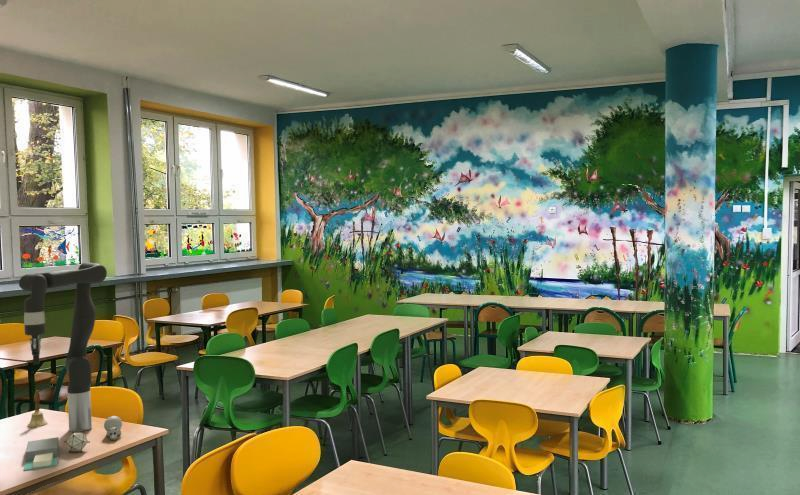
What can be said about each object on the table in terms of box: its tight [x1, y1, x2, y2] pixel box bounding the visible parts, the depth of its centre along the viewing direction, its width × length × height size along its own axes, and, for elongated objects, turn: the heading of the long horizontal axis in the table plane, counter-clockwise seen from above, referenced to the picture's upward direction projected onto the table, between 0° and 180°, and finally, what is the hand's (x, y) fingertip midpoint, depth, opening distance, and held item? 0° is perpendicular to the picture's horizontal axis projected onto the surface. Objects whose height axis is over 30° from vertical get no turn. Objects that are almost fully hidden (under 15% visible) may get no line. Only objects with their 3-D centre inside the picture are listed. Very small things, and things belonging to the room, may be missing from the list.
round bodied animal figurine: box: [103, 415, 123, 441], centre depth 283 cm, size 7×12×8 cm, turn 21°
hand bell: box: [27, 389, 49, 428], centre depth 303 cm, size 8×8×16 cm
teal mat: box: [23, 457, 58, 472], centre depth 253 cm, size 11×10×1 cm
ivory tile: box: [33, 452, 53, 468], centre depth 254 cm, size 6×9×2 cm, turn 24°
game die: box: [63, 430, 91, 454], centre depth 266 cm, size 9×8×10 cm
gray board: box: [24, 436, 60, 462], centre depth 264 cm, size 11×14×4 cm
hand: (36, 364), depth 270 cm, fingers closed
